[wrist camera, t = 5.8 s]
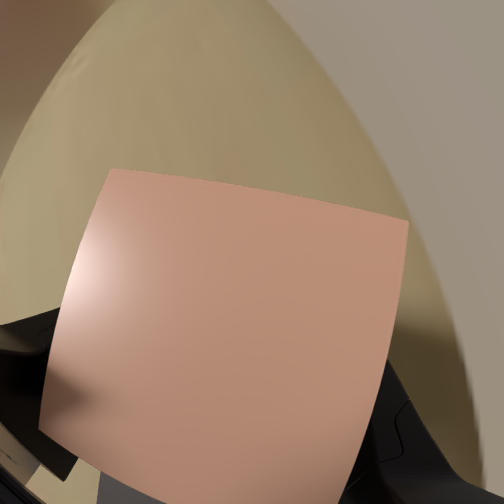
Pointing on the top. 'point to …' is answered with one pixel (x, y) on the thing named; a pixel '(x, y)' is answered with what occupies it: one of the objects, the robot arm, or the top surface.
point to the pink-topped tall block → (223, 340)
